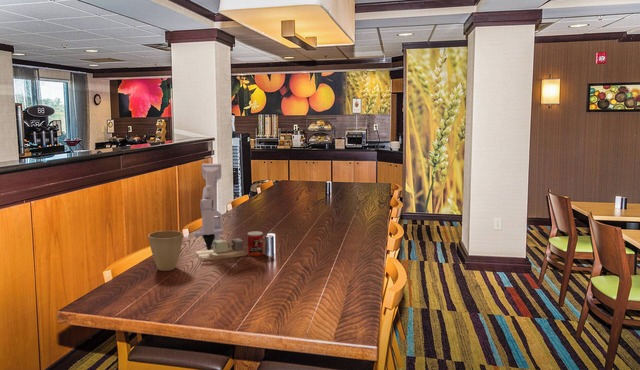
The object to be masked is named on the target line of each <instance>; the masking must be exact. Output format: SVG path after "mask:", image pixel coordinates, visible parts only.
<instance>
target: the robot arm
mask: <svg viewBox="0 0 640 370" xmlns="http://www.w3.org/2000/svg"><path fill="white" fill-rule="evenodd" d="M201 175H202V178H203V179H204V180H205V186H204V187H203V189H202V198H201V199H200V204H199V205H200V213H201V228H202V230H200V231H199V230H198V231H194V232H192V236H193V237H194V238H197V237H202V239H203V240H204V242H203V244H204V245H205V246H206V250H211V249H212V248H213V241H214V240H221V235H224V229H222V228H223V223H224V222H223V215H222V213H221V212H219V210H218V189H217V188H218V181H219V180H221V178H222V164H221V163H220V162H218V163H205V162H204V163H203V162H202V164H201Z"/></svg>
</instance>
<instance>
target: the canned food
mask: <svg viewBox="0 0 640 370" xmlns="http://www.w3.org/2000/svg"><path fill="white" fill-rule="evenodd" d="M263 235H264V234H263V231H259V230H258V231H257V230H255V231H254V230H253V231H249V232H247V235H246V237H247V239H246V240H247V255H248V256H250V257H260V256H262V255H263V254H264V236H263Z"/></svg>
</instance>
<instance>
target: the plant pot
mask: <svg viewBox="0 0 640 370" xmlns="http://www.w3.org/2000/svg"><path fill="white" fill-rule="evenodd" d="M147 235H148V241H149V242H148V243H149V247H150V250H151V253H152V256H153V260H154V263H155V265H156V267H157V269H158V270H159V271H163V272H167V271H169V272H170V271H172V270H175V269H176V266H177V264H178V260H179V258H180V253H181V249H182V243H183V238H184V232H182V231H178V230H160V231H153V232H151V233H149V234H147Z"/></svg>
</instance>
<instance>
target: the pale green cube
mask: <svg viewBox="0 0 640 370" xmlns="http://www.w3.org/2000/svg"><path fill="white" fill-rule="evenodd" d="M228 243H229V241H228V240H227V239H221V238H220V240H214V241H213V247H212V249H213V251H214V252H216V253H219V252H227V251H228Z"/></svg>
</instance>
